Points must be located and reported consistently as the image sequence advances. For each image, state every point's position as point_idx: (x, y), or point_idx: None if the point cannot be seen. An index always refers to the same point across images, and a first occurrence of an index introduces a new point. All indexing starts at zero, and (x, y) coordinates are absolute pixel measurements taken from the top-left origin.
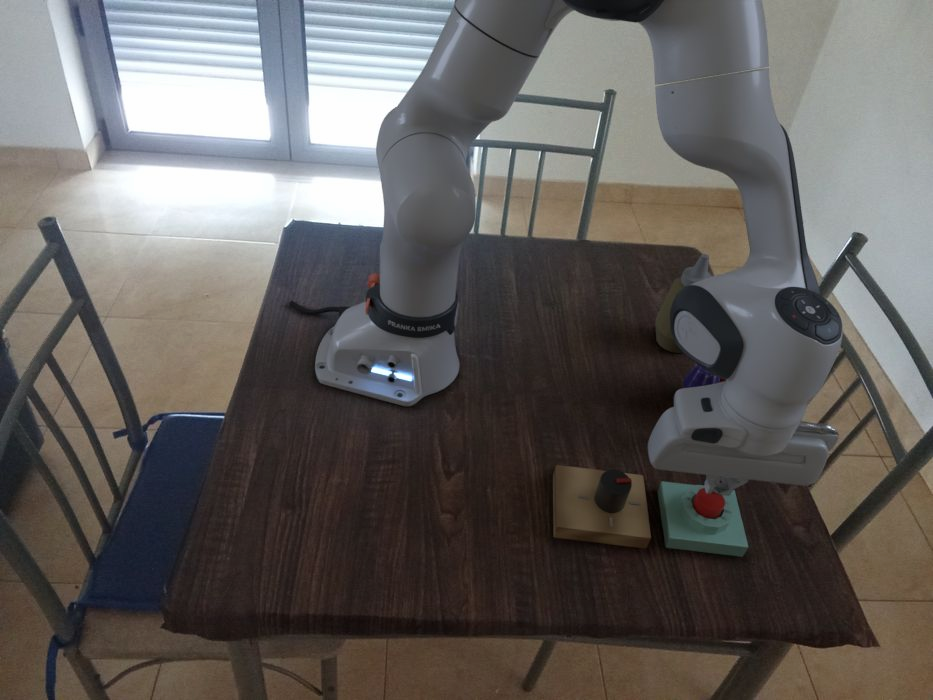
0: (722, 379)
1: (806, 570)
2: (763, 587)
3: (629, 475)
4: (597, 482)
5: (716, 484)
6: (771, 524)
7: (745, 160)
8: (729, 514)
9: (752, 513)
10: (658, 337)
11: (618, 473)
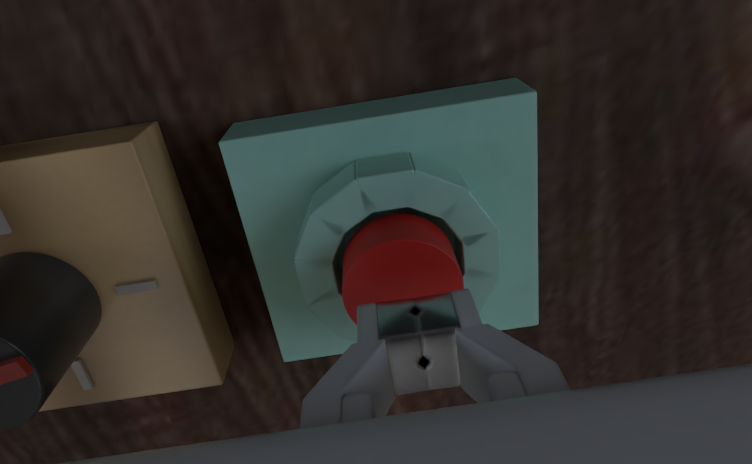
0: None
1: (709, 278)
2: (562, 357)
3: (74, 162)
4: None
5: (400, 379)
6: (655, 143)
7: None
8: (483, 284)
9: (596, 114)
10: None
11: None
